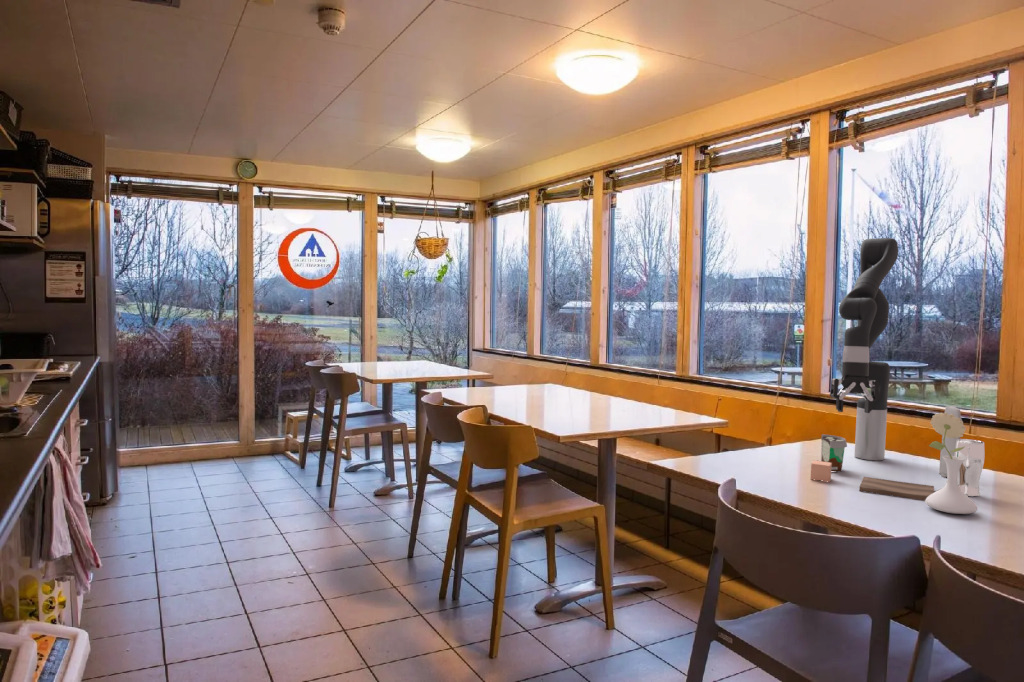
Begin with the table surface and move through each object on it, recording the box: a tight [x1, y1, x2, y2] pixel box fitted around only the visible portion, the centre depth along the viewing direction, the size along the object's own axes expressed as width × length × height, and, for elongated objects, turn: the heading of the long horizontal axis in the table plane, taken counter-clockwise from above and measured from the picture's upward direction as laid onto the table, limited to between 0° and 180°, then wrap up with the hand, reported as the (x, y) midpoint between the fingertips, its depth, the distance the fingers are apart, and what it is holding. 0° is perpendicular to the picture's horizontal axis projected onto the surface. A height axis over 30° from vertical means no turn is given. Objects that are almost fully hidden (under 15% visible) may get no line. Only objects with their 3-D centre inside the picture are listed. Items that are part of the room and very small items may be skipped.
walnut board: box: [858, 476, 935, 501], centre depth 198 cm, size 14×18×1 cm
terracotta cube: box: [810, 460, 832, 483], centre depth 209 cm, size 5×5×5 cm
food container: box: [820, 433, 848, 472], centre depth 222 cm, size 12×6×10 cm, turn 168°
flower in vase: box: [924, 412, 978, 515], centre depth 179 cm, size 13×11×25 cm
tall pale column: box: [938, 405, 963, 478], centre depth 215 cm, size 11×4×22 cm, turn 174°
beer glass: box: [955, 438, 986, 497], centre depth 195 cm, size 7×7×15 cm
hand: (853, 412), depth 220 cm, fingers open, 8 cm apart
